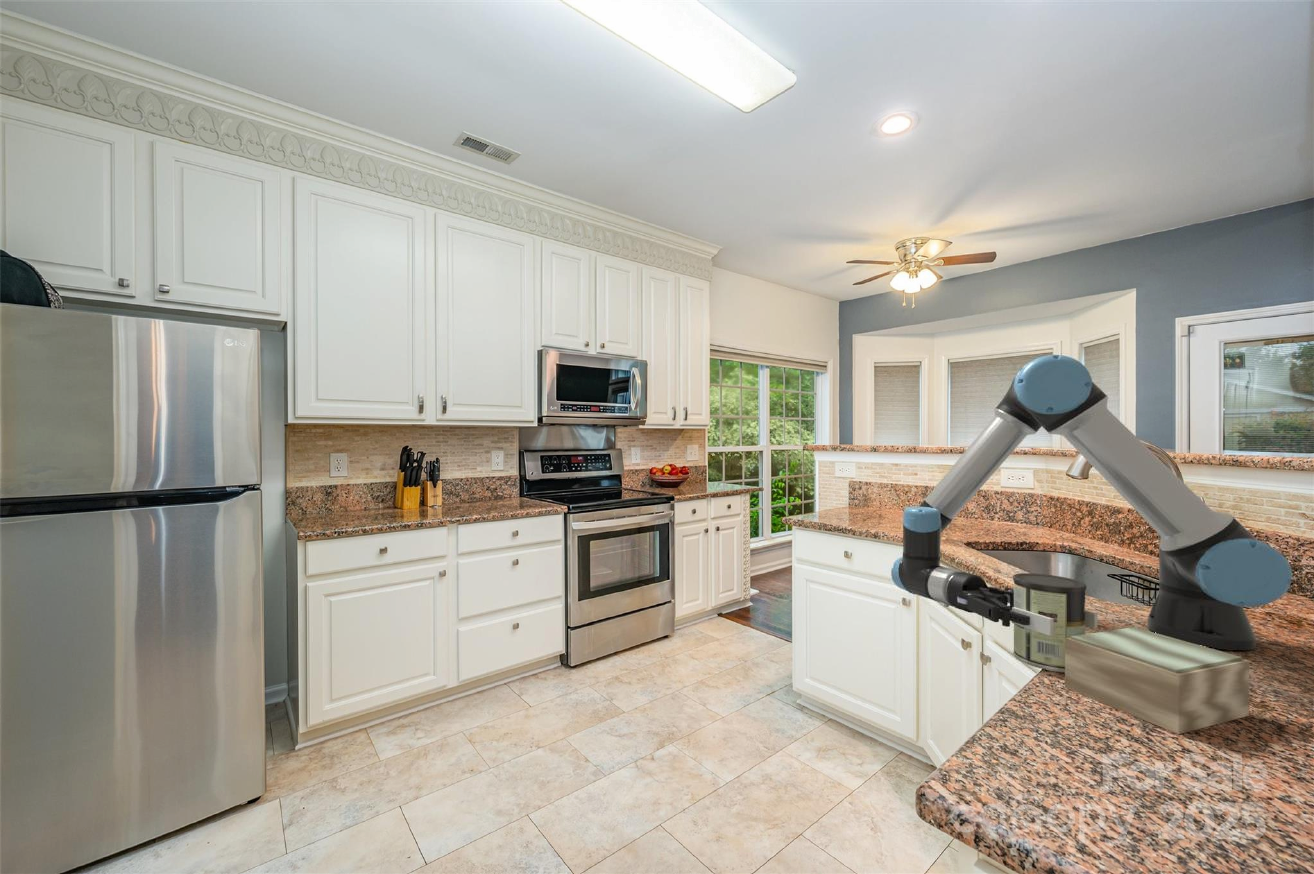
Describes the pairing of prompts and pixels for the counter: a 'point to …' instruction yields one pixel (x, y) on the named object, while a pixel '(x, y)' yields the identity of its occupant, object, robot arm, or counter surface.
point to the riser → (1158, 678)
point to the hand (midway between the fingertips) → (1074, 624)
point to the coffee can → (1052, 601)
